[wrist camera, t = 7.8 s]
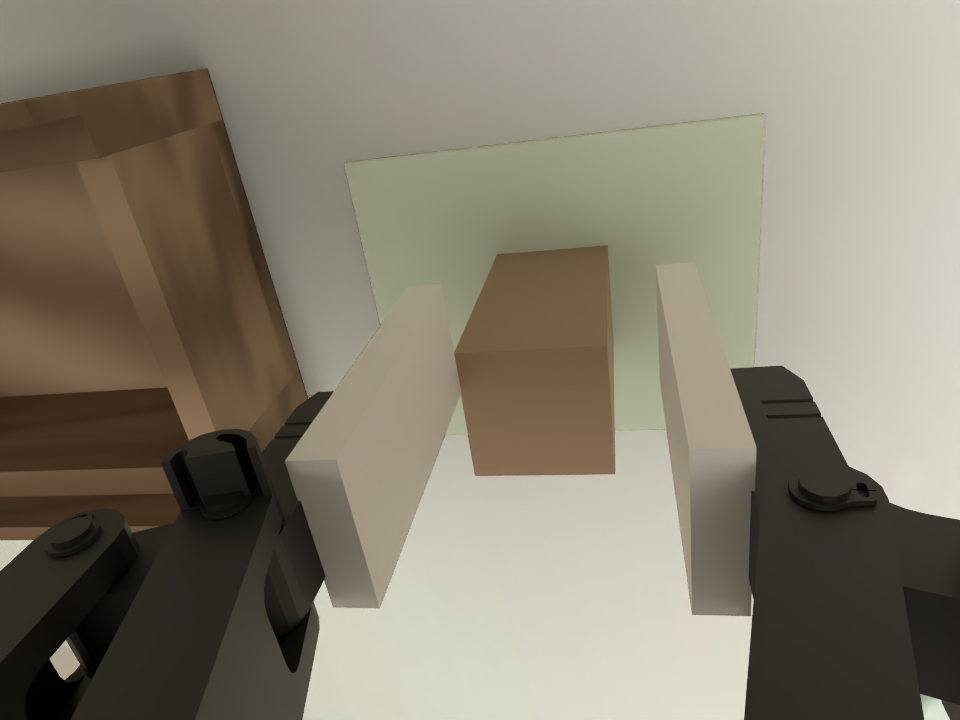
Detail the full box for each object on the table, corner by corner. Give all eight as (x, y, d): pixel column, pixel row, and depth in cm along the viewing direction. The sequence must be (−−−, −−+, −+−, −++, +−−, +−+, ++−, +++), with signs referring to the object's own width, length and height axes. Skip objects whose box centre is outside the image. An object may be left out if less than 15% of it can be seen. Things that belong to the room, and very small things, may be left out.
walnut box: (-149, 128, 24) (-435, 178, 17) (207, 68, 21) (24, 100, 14) (7, 418, 29) (-166, 540, 23) (309, 404, 26) (209, 539, 20)
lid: (352, 158, 22) (237, 230, 15) (760, 110, 19) (841, 171, 13) (410, 424, 27) (342, 571, 20) (747, 414, 24) (801, 580, 17)
